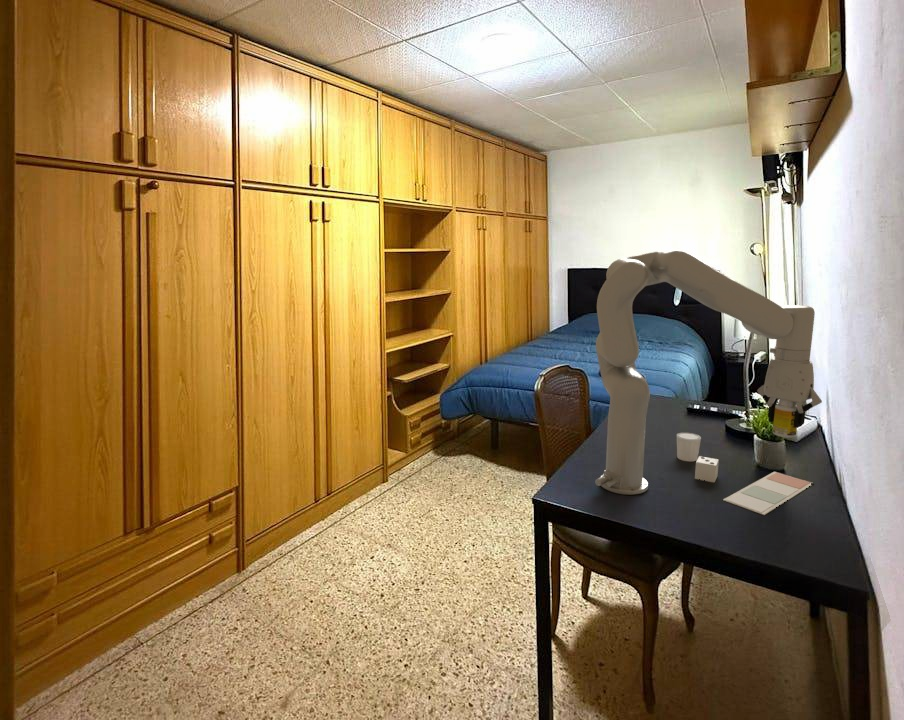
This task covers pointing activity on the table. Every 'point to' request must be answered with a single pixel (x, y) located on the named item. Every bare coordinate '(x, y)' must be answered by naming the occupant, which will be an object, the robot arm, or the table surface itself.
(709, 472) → the die
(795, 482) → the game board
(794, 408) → the supplement bottle
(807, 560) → the table surface
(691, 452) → the white cup
